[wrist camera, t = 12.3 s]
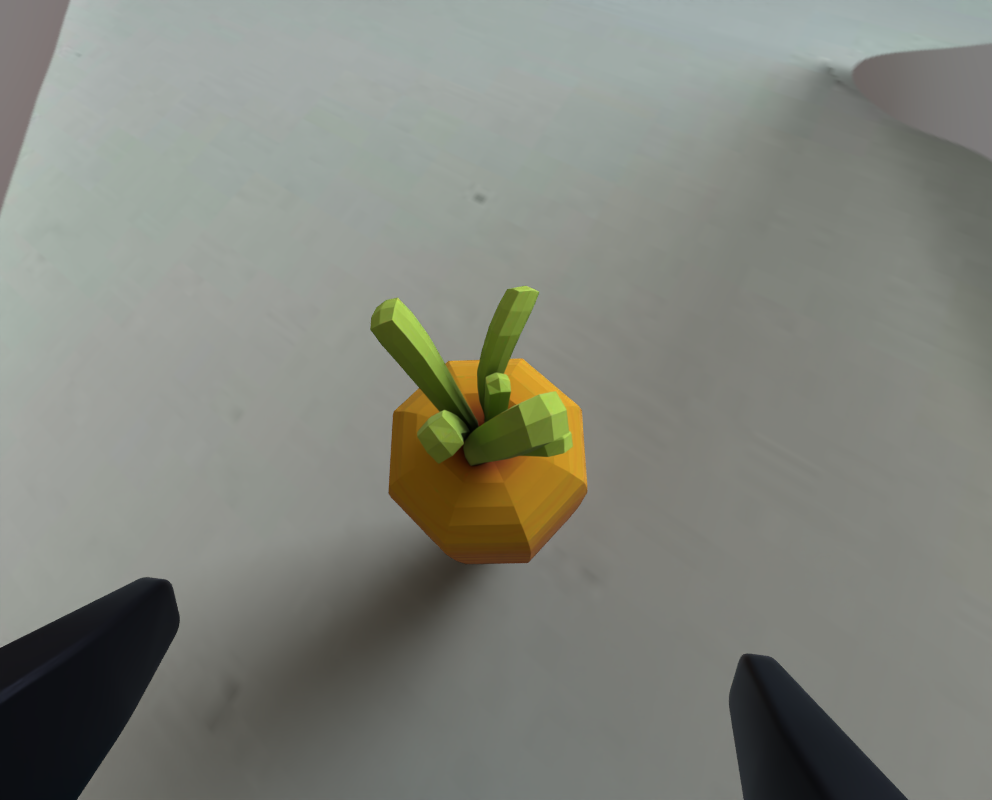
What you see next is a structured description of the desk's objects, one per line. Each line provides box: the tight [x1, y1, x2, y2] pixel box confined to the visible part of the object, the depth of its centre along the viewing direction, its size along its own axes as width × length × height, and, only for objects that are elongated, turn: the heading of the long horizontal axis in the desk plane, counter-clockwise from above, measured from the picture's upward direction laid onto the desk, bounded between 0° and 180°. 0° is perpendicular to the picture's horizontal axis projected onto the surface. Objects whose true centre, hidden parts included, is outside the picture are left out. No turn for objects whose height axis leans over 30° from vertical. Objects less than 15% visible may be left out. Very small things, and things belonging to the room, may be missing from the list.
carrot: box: [370, 286, 587, 564], centre depth 16 cm, size 5×5×15 cm
